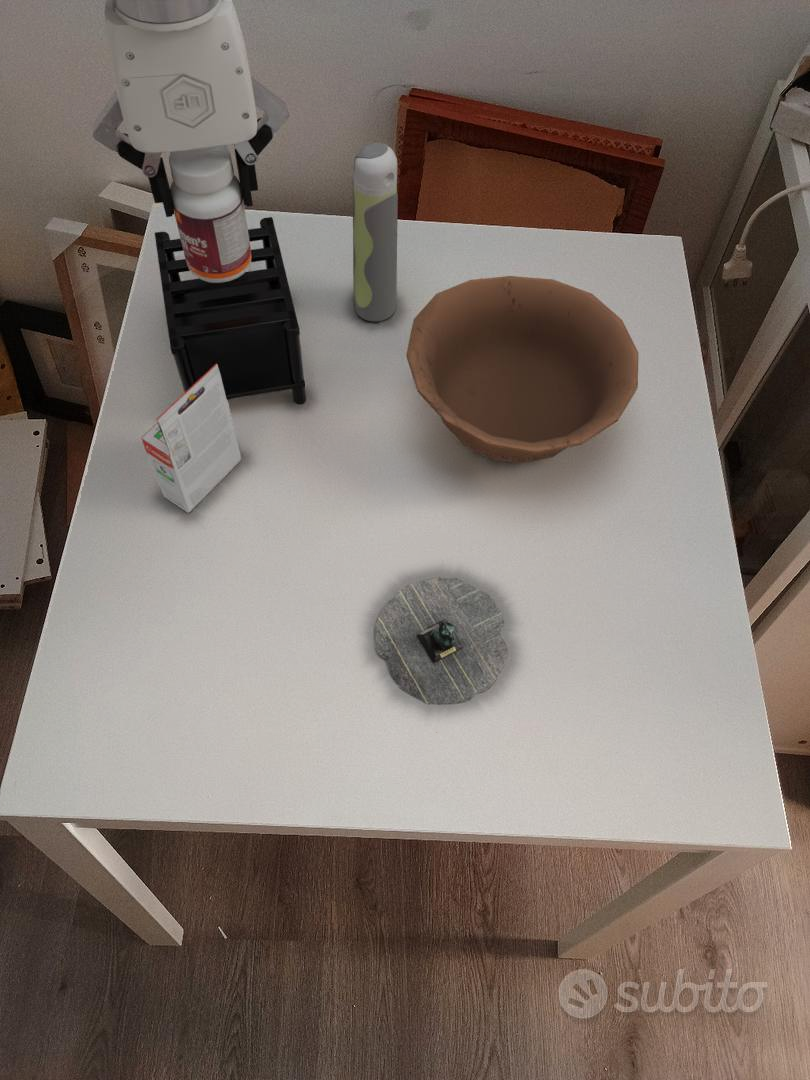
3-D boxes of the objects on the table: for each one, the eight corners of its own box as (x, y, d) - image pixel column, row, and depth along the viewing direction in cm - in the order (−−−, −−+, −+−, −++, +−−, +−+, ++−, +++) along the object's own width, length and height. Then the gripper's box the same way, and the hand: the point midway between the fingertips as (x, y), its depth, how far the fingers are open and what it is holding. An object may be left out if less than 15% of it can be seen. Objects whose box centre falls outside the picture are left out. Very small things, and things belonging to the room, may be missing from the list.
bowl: (442, 323, 94) (450, 245, 84) (631, 378, 91) (662, 304, 81) (371, 472, 83) (371, 402, 74) (583, 541, 80) (611, 477, 71)
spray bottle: (372, 330, 93) (372, 173, 75) (345, 306, 94) (338, 147, 77) (404, 310, 94) (412, 152, 77) (377, 286, 96) (378, 127, 79)
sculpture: (470, 728, 71) (419, 679, 67) (401, 708, 78) (350, 661, 73) (531, 615, 76) (486, 561, 71) (460, 605, 82) (415, 555, 78)
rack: (193, 422, 86) (170, 349, 76) (176, 312, 93) (154, 232, 84) (307, 403, 87) (299, 329, 78) (282, 296, 95) (272, 216, 85)
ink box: (162, 497, 81) (123, 402, 68) (216, 444, 84) (188, 343, 72) (190, 516, 80) (156, 422, 67) (244, 461, 83) (220, 362, 71)
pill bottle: (173, 264, 78) (145, 157, 69) (220, 231, 81) (200, 123, 71) (219, 295, 77) (197, 190, 67) (266, 260, 79) (251, 154, 69)
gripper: (35, 22, 54) (110, 243, 70) (296, -2, 57) (312, 216, 72) (33, -37, 58) (105, 186, 73) (278, -57, 60) (297, 162, 76)
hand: (207, 199), depth 73 cm, fingers closed on pill bottle, 6 cm apart
